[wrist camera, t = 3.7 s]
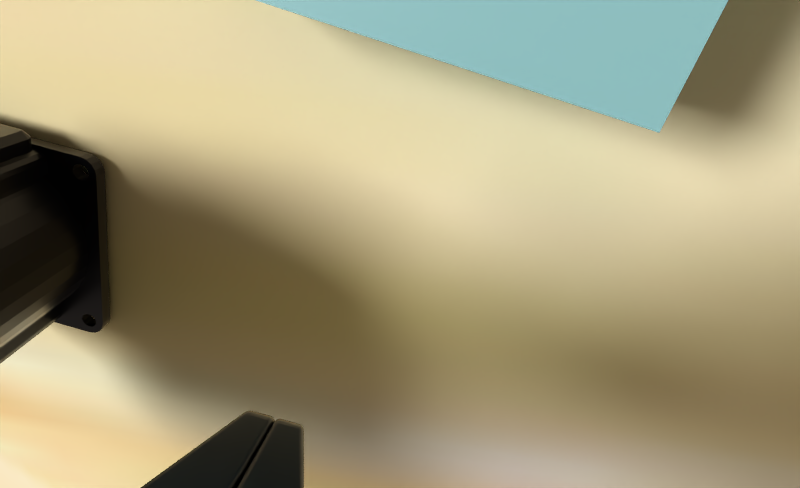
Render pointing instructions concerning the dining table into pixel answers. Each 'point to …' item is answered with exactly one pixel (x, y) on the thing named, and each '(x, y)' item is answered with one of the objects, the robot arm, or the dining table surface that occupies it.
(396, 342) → the dining table surface
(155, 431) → the dining table surface
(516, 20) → the teal block
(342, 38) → the dining table surface
